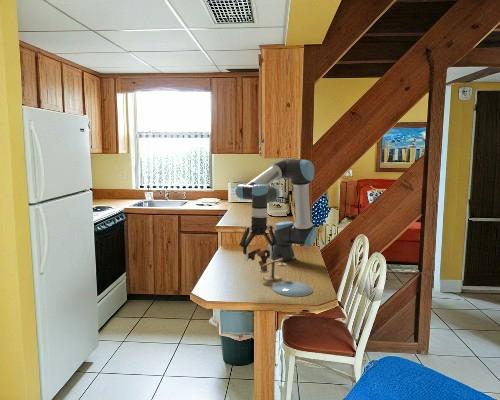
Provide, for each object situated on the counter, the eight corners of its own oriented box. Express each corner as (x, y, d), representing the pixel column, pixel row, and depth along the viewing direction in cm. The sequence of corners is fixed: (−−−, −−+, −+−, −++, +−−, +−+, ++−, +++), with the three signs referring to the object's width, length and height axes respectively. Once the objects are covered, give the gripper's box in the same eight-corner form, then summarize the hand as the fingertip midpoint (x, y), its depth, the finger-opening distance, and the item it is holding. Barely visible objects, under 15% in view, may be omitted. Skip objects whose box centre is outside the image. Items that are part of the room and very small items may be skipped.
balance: (283, 276, 224) (284, 256, 223) (287, 279, 220) (288, 259, 218) (257, 279, 218) (257, 259, 216) (261, 282, 213) (262, 261, 212)
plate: (299, 280, 219) (299, 279, 219) (320, 293, 201) (320, 292, 201) (265, 284, 211) (265, 283, 211) (284, 298, 193) (284, 297, 193)
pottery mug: (256, 268, 194) (249, 252, 195) (248, 271, 202) (241, 256, 203) (276, 258, 200) (269, 243, 201) (268, 262, 208) (261, 247, 209)
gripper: (277, 213, 207) (276, 254, 210) (233, 216, 197) (232, 259, 201) (284, 216, 200) (283, 258, 204) (239, 219, 191) (238, 263, 194)
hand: (257, 259), depth 202 cm, fingers closed on pottery mug, 12 cm apart
